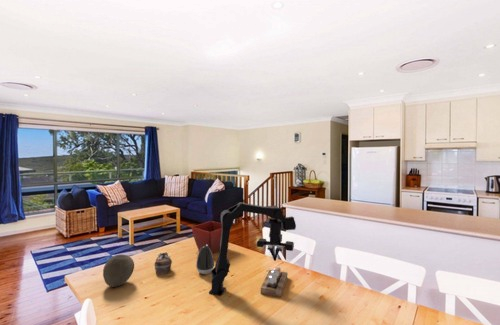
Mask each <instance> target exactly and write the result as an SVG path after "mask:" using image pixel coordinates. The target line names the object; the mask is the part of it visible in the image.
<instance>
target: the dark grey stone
mask: <svg viewBox="0 0 500 325" xmlns="http://www.w3.org/2000/svg"><path fill="white" fill-rule="evenodd" d="M134 270H135V262H134V260H133V258H132V257H131V256H129V255H126V254H115V255H113V256H111V257H110V258H109V259H108V260H107V261H106V263H105V265H104V267H103V272H102V277H103V280H104V282H105V284H106V285H107V286H110V287H114V288H117V287H120V286H122V285H123V284H125V283H126V282H127V281H128V280H129V279H130V278H131V276H132V275H133V272H134Z"/></svg>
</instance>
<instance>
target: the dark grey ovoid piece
mask: <svg viewBox="0 0 500 325" xmlns="http://www.w3.org/2000/svg"><path fill="white" fill-rule="evenodd" d="M195 267H196V270H197V272H198V273H199V274H201V275H207V274H211V271H212V270H213V269H214V268H215V259H214V254H213V253H212V252H211V250H210V248H209V247H208V244H207V245H206V246H203V247H202V248H201V249H200V250H198V254H197V258H196V264H195Z"/></svg>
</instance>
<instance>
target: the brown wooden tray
mask: <svg viewBox="0 0 500 325" xmlns="http://www.w3.org/2000/svg"><path fill="white" fill-rule="evenodd" d="M271 270H272V269H269V270H268V272H267V274H266V277H265V278H264V280H263V282H262V284H261V286H260V294H261V295H265V296H266V295H267V296H271V297H278V298H282V296H283V293H284V289H285V286H286V283H287V280H288V272H287V271H281V278H280V277H279V281H278V282H277V286H276V287H275V288H271V287H269V286H268V276H269V275H270V274H271Z"/></svg>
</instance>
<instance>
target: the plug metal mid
mask: <svg viewBox="0 0 500 325" xmlns="http://www.w3.org/2000/svg"><path fill="white" fill-rule="evenodd" d="M270 270H271V274H274V275H276V276H277V282H278V281H279V271H278V270H276V269H273V268H271V269H270Z"/></svg>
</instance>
